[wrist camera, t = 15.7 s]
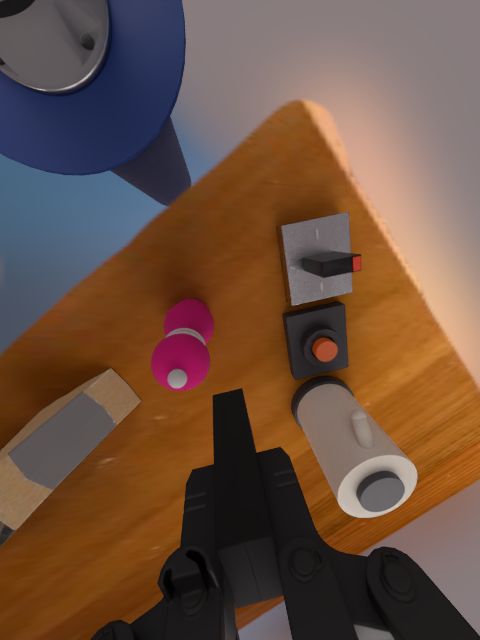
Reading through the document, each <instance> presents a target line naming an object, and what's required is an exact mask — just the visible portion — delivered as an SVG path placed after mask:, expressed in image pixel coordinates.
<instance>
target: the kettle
mask: <svg viewBox="0 0 480 640" xmlns="http://www.w3.org/2000/svg"><path fill="white" fill-rule="evenodd" d="M291 409H292V413H293V416H294V418H295V420H296V422H297V424H298V425H299V426H300V427H301V428H302V429H303V431H304V433H305V435H306V437H307V439H308V441H309V443H310V445H311V447H312V449H313V451H314V454H315V456H316V458H317V460H318V462H319V464H320V466H321V468H322V470H323V472H324V474H325V476H326V478H327V481H328V483H329V485H330V487H331V489H332V491H333V493H334V495H335V497H336V499H337V501H338V503H339V505H340V507H341V508H342V510H343V511H345V512H346V513H347V514H349V515H351V516H354V517H359V518H370V517H376V516H380V515H383V514H386V513H388V512H390V511H392V510H394V509H395V508H397V507H398V506H400V505H401V504H402V503H403V502H405V501H406V500H407V498H408V497H409V496H410V495H411V494H412V492H413V490H414V488H415V486H416V483H417V470H416V468H415V466H414V464H413V463H412V462H411V461H410V460H409V459H408V457H407V456H406V455H405V454H404V453H403V452H402V451H401V450H400V449H399V447H398V446H397V445H396V444H395V443H394V442H393V441H392V440H391V438H390V437H389V436H388V435H387V434H386V433H385V432H384V431H383V429H382V428H381V427H380V426H379V425H378V424H377V423H376V422H375V421H374V419H373V418H372V417H371V416H370V415H369V414H368V413H367V412H366V410H365V409H364V408H363V407H362V406H361V405H360V404H359V403H358V401H357V400H356V399H355V398H354V395H353V393H352V391H351V390H350V388H349V387H348V386H347V385H346V384H345V383H344V382H343V381H341V380H340V379H338V378H336V377H332V376H320V377H316V378H313V379H310V380H309V381H307V382H305V383H304V384H303V385H302V386H300V388H299V389H298V390H297V391H296V393H295V395H294V397H293V399H292V404H291Z"/></svg>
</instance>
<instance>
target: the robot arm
mask: <svg viewBox="0 0 480 640" xmlns="http://www.w3.org/2000/svg"><path fill="white" fill-rule="evenodd" d="M111 43H112V17H111V11H110V6H109V1H108V0H0V71H1V72H2V73H3V74H5V75H6V76H7V77H9V78H10V79H11V80H13V81H14V82H16V83H17V84H19V85H20V86H22V87H24V88H26V89H28V90H30V91H33V92H36V93H39V94H42V95H47V96H68V95H72V94H76V93H78V92H80V91H82V90H84V89H86V88H87V87H89V86H90V85H91V84H92V83H93V82H94V81H95V80H96V79H97V78H98V77H99V75H100V74H101V72H102V71H103V69H104V67H105V65H106V62H107V60H108V57H109V53H110V49H111ZM213 439H214V464H213V465H209V466H205V467H201V468H197V469H193V470H192V472H191V474H190V477H189V479H188V481H187V483H186V492H185V503H184V514H183V524H182V534H181V545H180V548H178V549H177V550H176V551H175V552H173V553H172V554H171V555H170V556H169V557H168V559H167V561H166V562H165V564H164V566H163V568H162V569H161V572H160V576H159V579H158V583H157V584H158V585H159V587H160V589H161V591H162V593H163V595H164V597H163V599H162V600H161V601H160V602H159V603H158V604H156V605H155V606H154V607H153V608H152V609H150V610H149V611H147V612H146V613H145V614H143V615H142V616H141V617H139V618H138V619H136V620H135V621H134V622H132V623H131V624H130V625H129V624H128V623H126V622H124V621H122V620H117V621H112V622H109V623H108V624H106V625H105V626H104V627H102V628H101V629H99V630H98V631H97V632H96V634H95V635H94V636H93V637H92V638H91V640H240V639H239V635H238V630H237V627H236V621H235V606H234V602H235V605H236V608H240V607H244V606H248V605H251V604H255V603H258V602H262V601H266V600H269V599H273V598H277V597H280V596H284V600H285V605H286V610H287V614H288V620H289V625H290V630H291V634H292V639H293V640H480V636H479V635H478V634H477V632H476V631H475V630H474V629H473V628H472V627H471V625H470V624H469V623H468V622H467V621H466V620H465V619H464V617H463V616H462V615H461V614H460V613H459V612H458V610H457V609H456V608H455V607H454V606H453V605H452V603H451V602H450V601H449V600H448V599H447V598H446V597H445V595H444V594H443V593H442V592H441V591H440V590H439V588H438V587H437V586H436V585H435V584H434V583H433V581H432V580H431V579H430V578H429V577H428V576H427V575H426V573H425V572H424V571H423V570H422V569H421V568H420V567H419V565H418V564H417V563H416V562H414V561H413V560H412V559H411V558H410V557H409V556H408V555H407V554H405V553H403V552H401V551H399V550H397V549H395V548H390V547H380V548H378V549H374V550H373V551H372V552H371V554H370V555H369V556H368V557H366V556H359V555H353V554H346V553H343V552H339V551H337V550H335V549H333V548H332V547H330V546H329V545H328V544H327V543H325V542H324V541H323V540H322V538H321V537H320V536H319V534H318V533H317V530H316V528H315V526H314V524H313V521H312V518H311V515H310V513H309V510H308V507H307V504H306V501H305V499H304V496H303V493H302V490H301V488H300V485H299V483H298V479H297V476H296V474H295V471H294V468H293V465H292V463H291V460H290V457H289V456H288V455H287V454H286V452H285V451H284V450H283V449H282V448H281V447H278V448H274V449H270V450H266V451H262V452H258V453H256V449H255V444H254V439H253V435H252V430H251V426H250V421H249V417H248V413H247V408H246V404H245V399H244V395H243V391H242V388H241V389H237V390H233V391H229V392H225V393H220V394H216V395H213Z"/></svg>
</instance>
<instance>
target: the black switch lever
mask: <svg viewBox="0 0 480 640" xmlns="http://www.w3.org/2000/svg"><path fill="white" fill-rule="evenodd" d="M303 266H304V271H306V272H308V273H311V274H314V275H317V276H319V277H322V278H327V277H332V276H337V275H341V274H346V273H351V272H356V271H361V254H353V253H345V252H337V251H333V252H328V253H324V254H319V255H314V256H309V257H304V258H303Z"/></svg>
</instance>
